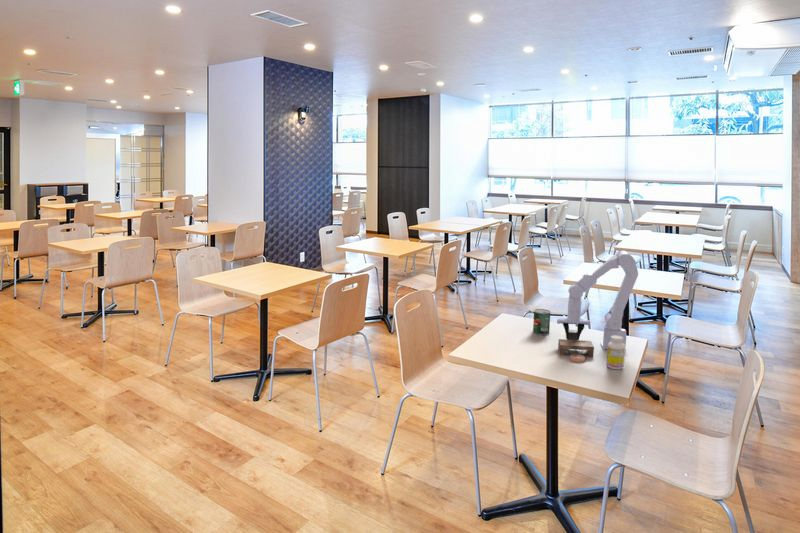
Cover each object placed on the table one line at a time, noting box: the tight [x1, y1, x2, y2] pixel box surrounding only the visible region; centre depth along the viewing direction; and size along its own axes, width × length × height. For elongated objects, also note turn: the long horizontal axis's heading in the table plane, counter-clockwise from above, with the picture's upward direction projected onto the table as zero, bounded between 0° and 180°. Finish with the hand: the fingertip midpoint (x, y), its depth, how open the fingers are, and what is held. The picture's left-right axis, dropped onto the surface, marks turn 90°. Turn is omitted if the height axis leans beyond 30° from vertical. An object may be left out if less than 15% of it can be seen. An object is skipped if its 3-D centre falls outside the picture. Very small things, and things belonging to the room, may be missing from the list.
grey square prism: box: [567, 329, 583, 356], centre depth 247 cm, size 5×17×6 cm, turn 170°
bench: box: [557, 338, 595, 358], centre depth 241 cm, size 14×8×5 cm, turn 79°
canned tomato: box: [532, 308, 552, 336], centre depth 269 cm, size 8×8×11 cm
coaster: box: [569, 354, 586, 363], centre depth 233 cm, size 6×6×2 cm
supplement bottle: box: [606, 335, 626, 370], centre depth 224 cm, size 7×7×13 cm
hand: (572, 339), depth 252 cm, fingers closed on grey square prism, 4 cm apart
